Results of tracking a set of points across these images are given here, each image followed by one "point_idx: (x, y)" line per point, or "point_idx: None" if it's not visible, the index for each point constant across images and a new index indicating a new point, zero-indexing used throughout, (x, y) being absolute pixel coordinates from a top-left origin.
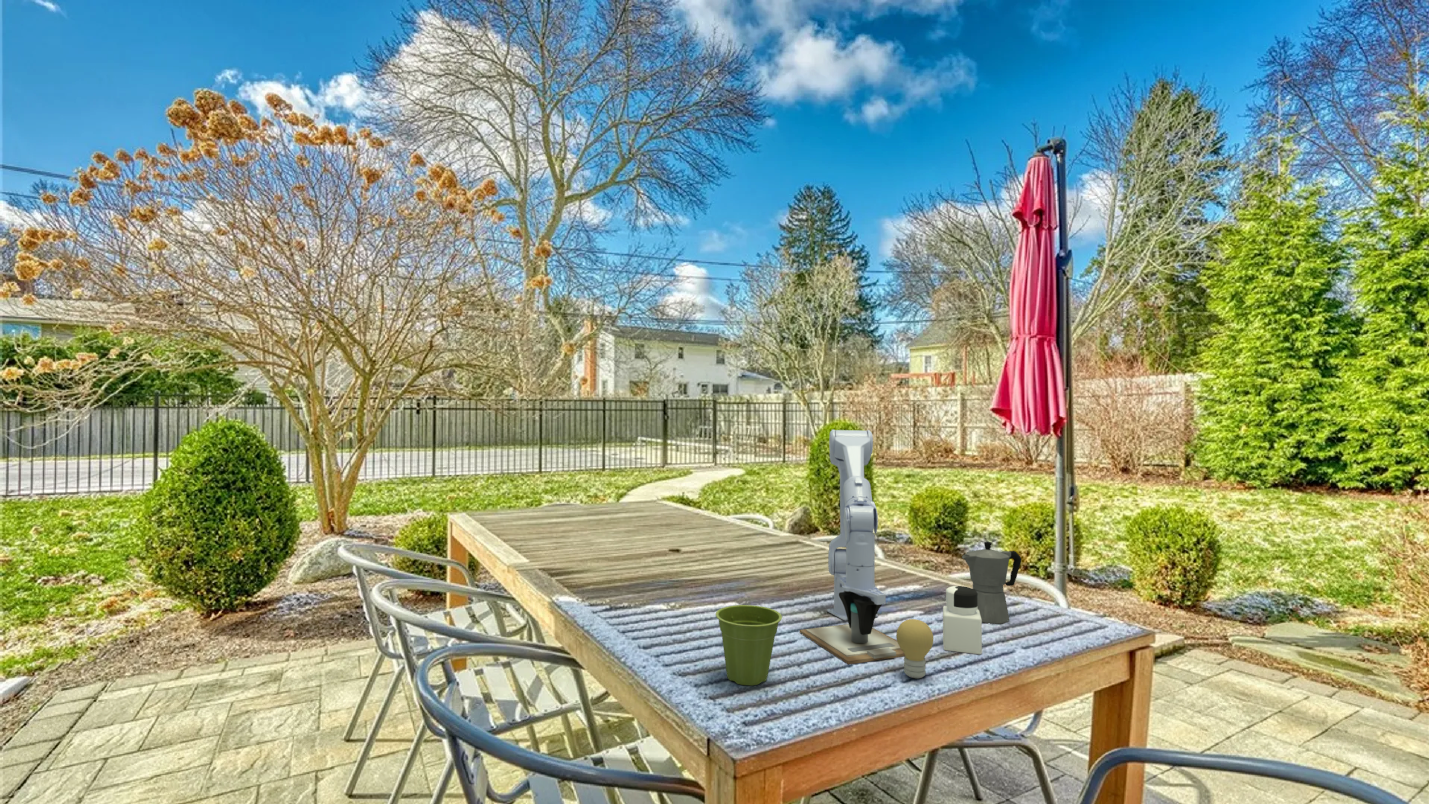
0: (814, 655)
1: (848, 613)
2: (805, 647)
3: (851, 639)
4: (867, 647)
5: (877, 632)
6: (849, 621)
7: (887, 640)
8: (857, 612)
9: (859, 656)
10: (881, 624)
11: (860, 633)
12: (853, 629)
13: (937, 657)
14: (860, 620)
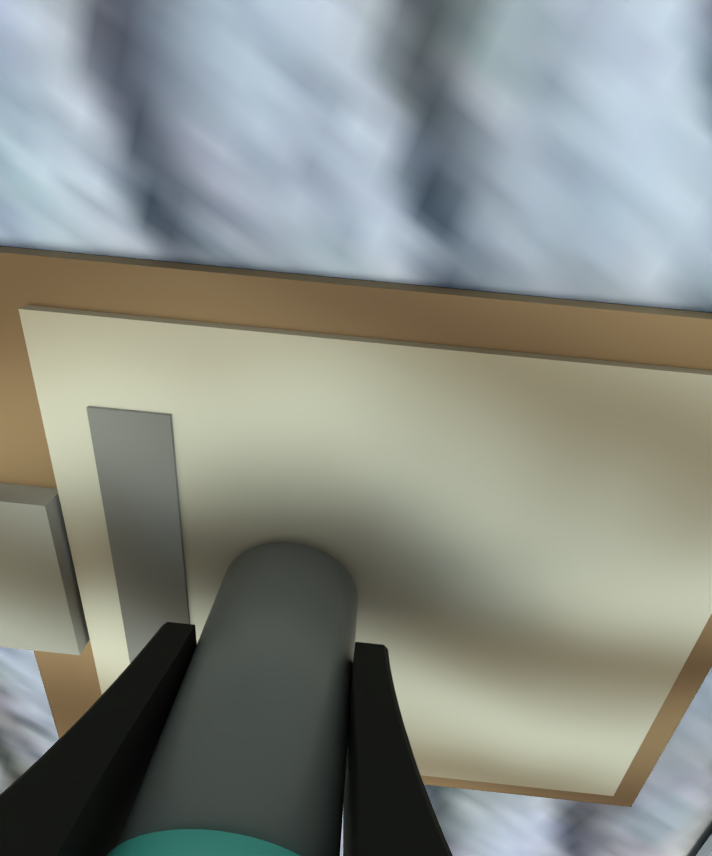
0: (240, 50)
1: (359, 786)
2: (492, 106)
3: (308, 552)
4: (151, 560)
5: None
6: (357, 695)
7: None
8: (125, 851)
9: (25, 410)
10: (560, 851)
11: (191, 626)
12: (255, 625)
13: (16, 765)
14: (76, 744)
